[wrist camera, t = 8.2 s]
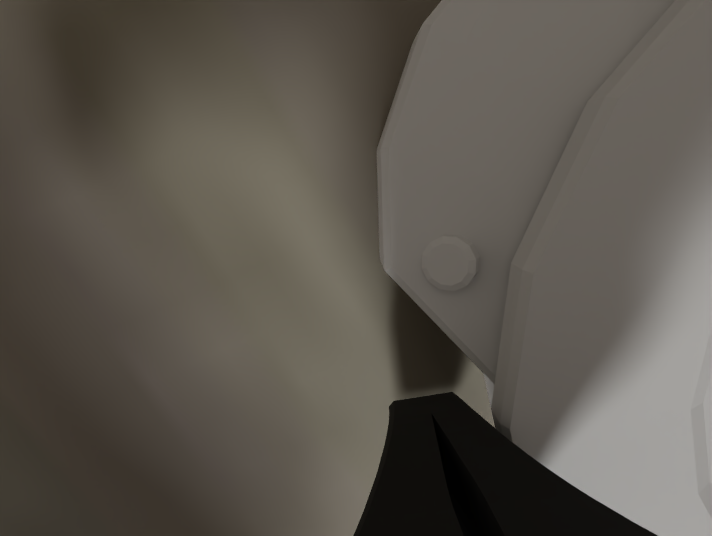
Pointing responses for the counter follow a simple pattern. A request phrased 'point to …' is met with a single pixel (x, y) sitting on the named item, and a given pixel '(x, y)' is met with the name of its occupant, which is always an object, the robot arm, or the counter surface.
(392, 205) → the lid
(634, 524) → the robot arm
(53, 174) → the counter surface
